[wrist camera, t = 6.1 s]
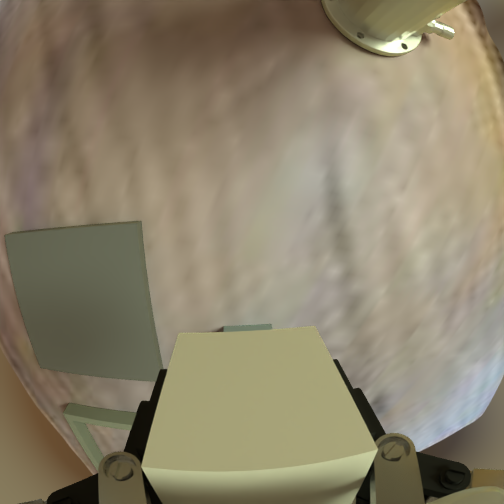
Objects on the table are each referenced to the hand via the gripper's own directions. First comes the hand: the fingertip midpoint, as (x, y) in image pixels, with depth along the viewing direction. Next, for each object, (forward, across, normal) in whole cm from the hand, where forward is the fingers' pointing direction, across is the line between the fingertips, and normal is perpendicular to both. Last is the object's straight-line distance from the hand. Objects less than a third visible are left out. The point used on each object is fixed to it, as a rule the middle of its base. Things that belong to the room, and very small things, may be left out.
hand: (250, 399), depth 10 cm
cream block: (+1, 0, 0) cm, 1 cm away
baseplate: (+19, +18, +5) cm, 27 cm away
